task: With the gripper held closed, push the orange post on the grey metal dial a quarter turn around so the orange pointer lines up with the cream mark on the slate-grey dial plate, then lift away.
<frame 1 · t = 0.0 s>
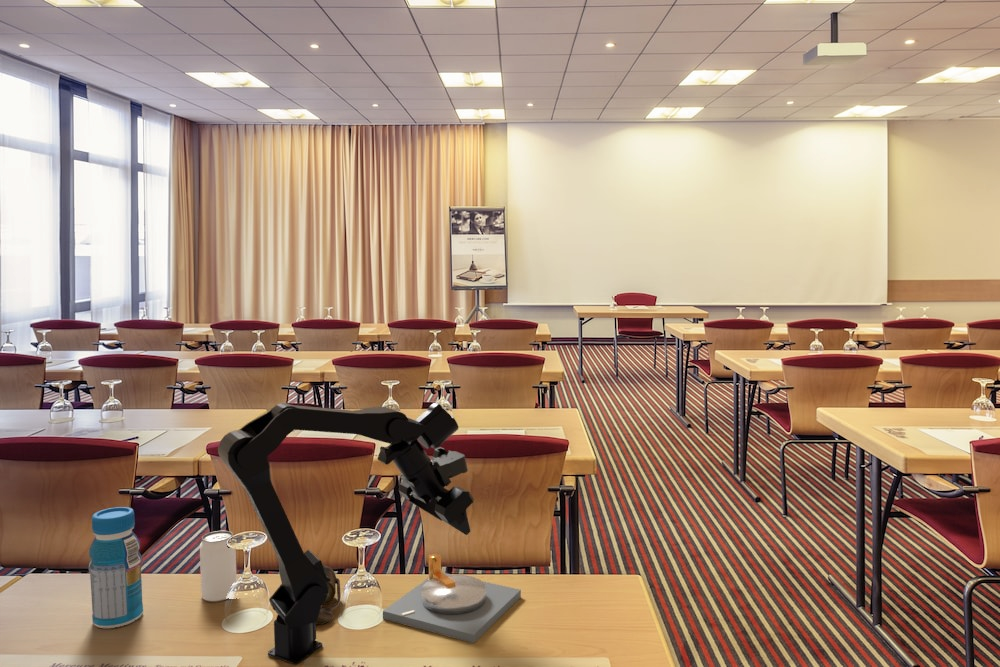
hand: (455, 525, 133), 15 cm above the table, fingers open, 9 cm apart
can: (219, 596, 137), on the table
dial plate: (453, 607, 131), on the table
beverage bottle: (118, 619, 128), on the table
dial: (450, 581, 132), point 5 cm above the table, hinge at 0.0°
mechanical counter: (316, 611, 131), on the table
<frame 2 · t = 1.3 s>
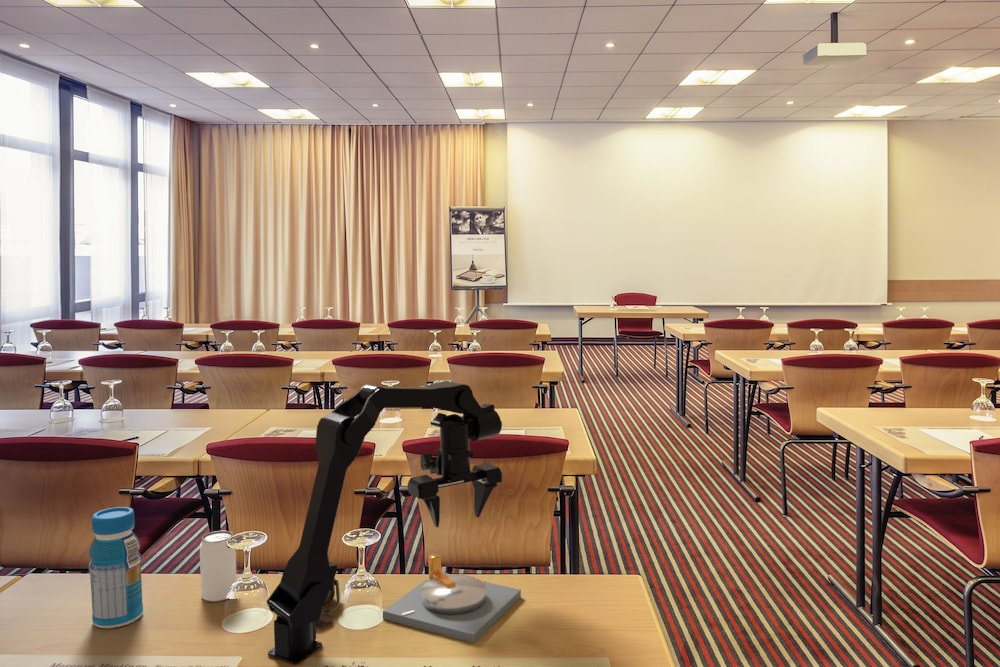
hand: (457, 521, 139), 13 cm above the table, fingers open, 9 cm apart
nothing on the table moved.
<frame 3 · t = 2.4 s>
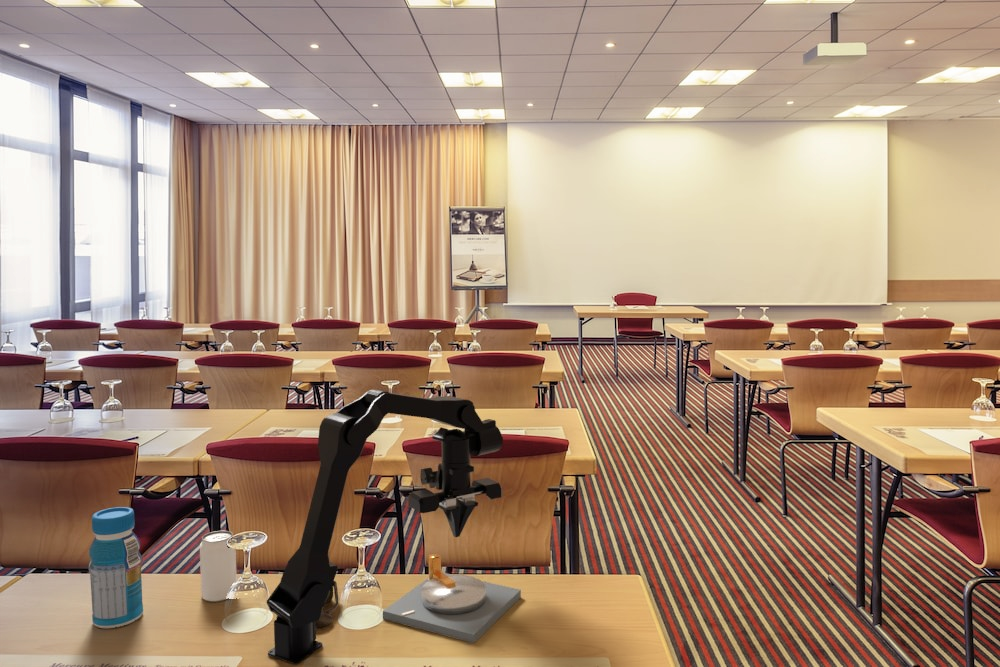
hand: (456, 536, 140), 10 cm above the table, fingers closed
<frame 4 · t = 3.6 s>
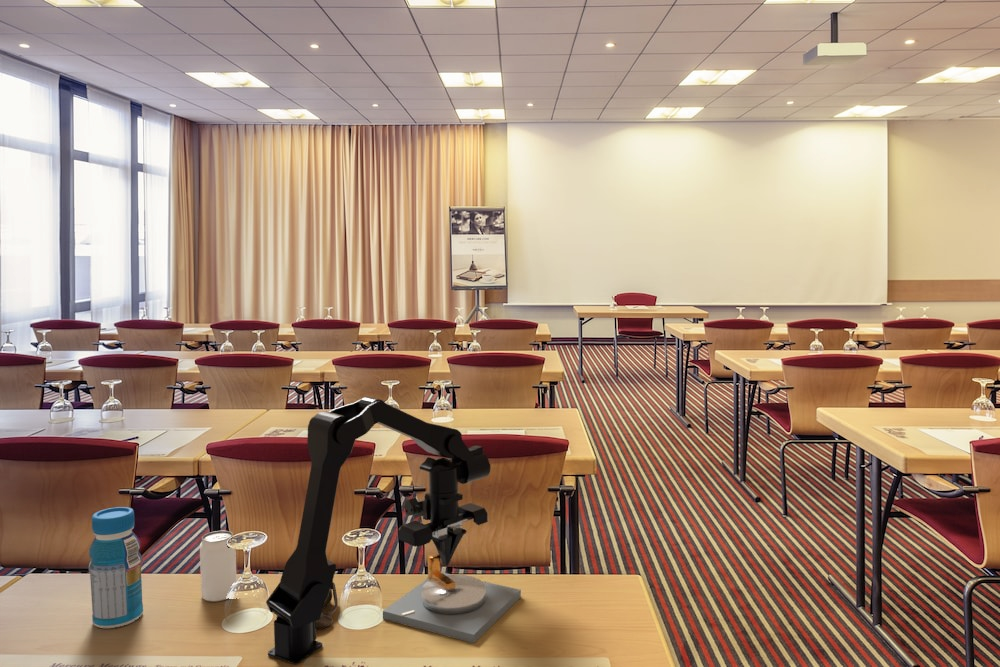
hand: (445, 565, 139), 5 cm above the table, fingers closed
dial: (450, 581, 132), point 5 cm above the table, hinge at 1.3°, touching gripper
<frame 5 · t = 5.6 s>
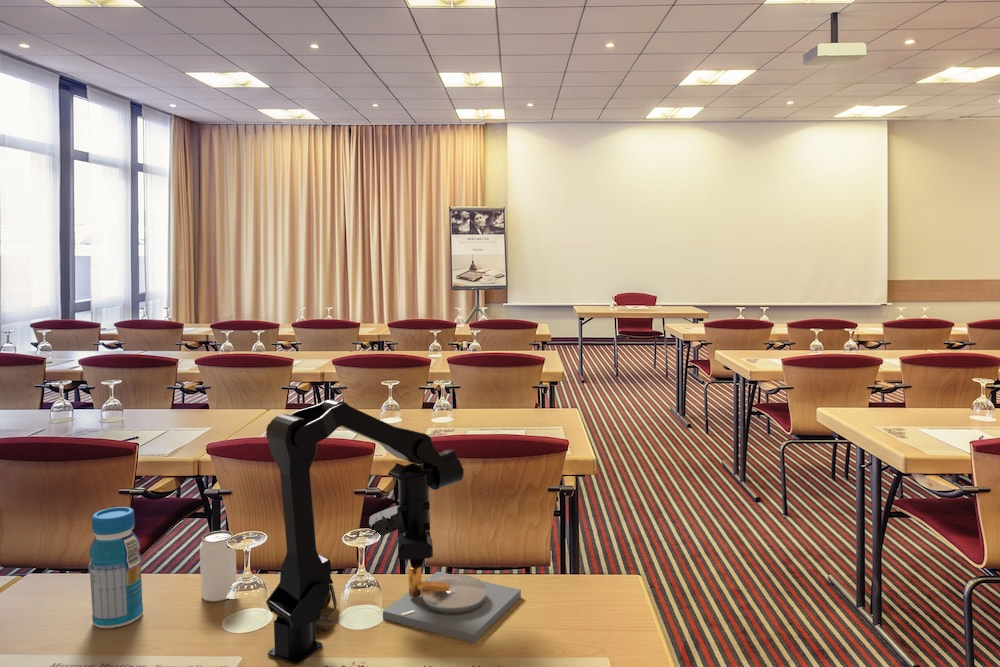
hand: (415, 573, 134), 5 cm above the table, fingers closed
dial: (446, 583, 131), point 5 cm above the table, hinge at 49.6°, touching gripper
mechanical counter: (311, 618, 128), on the table
everything else where it was.
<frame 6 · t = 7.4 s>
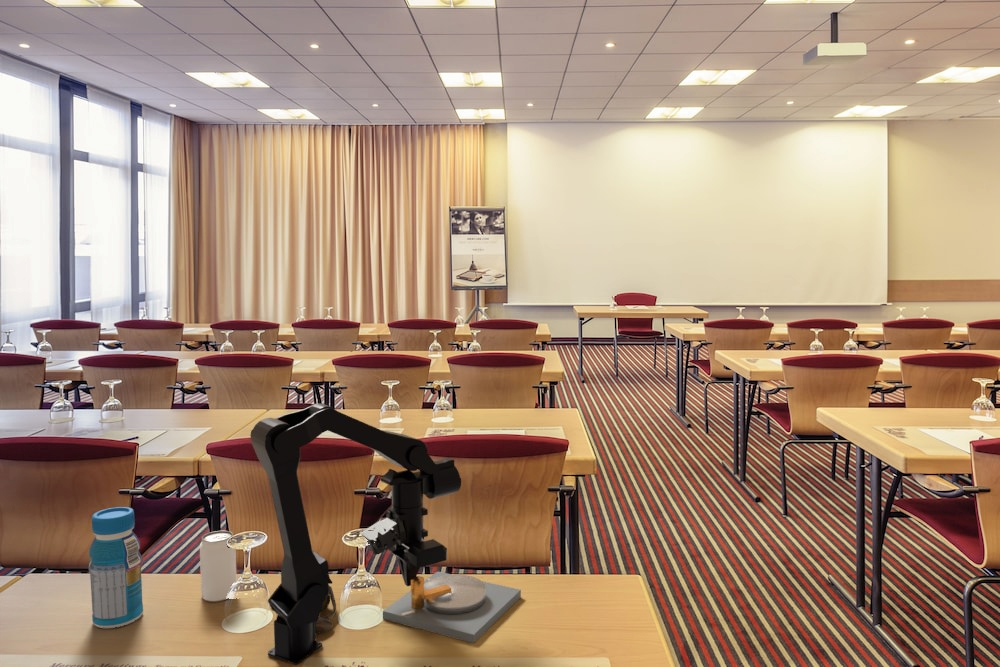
hand: (408, 585, 130), 5 cm above the table, fingers closed
dial: (447, 585, 130), point 5 cm above the table, hinge at 88.9°
everything else where it was.
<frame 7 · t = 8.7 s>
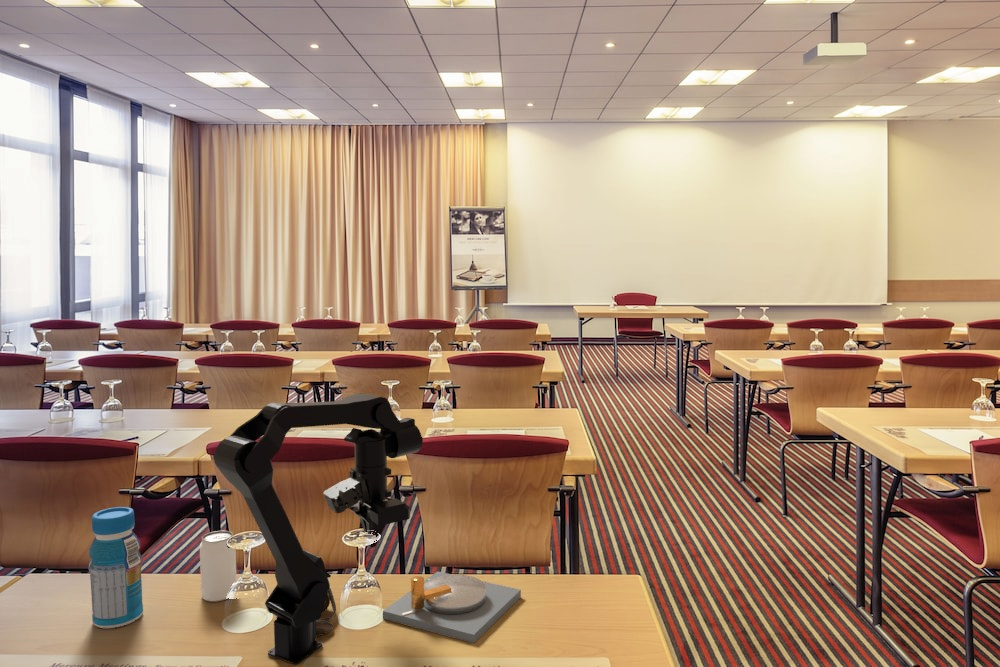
hand: (372, 546, 128), 13 cm above the table, fingers closed
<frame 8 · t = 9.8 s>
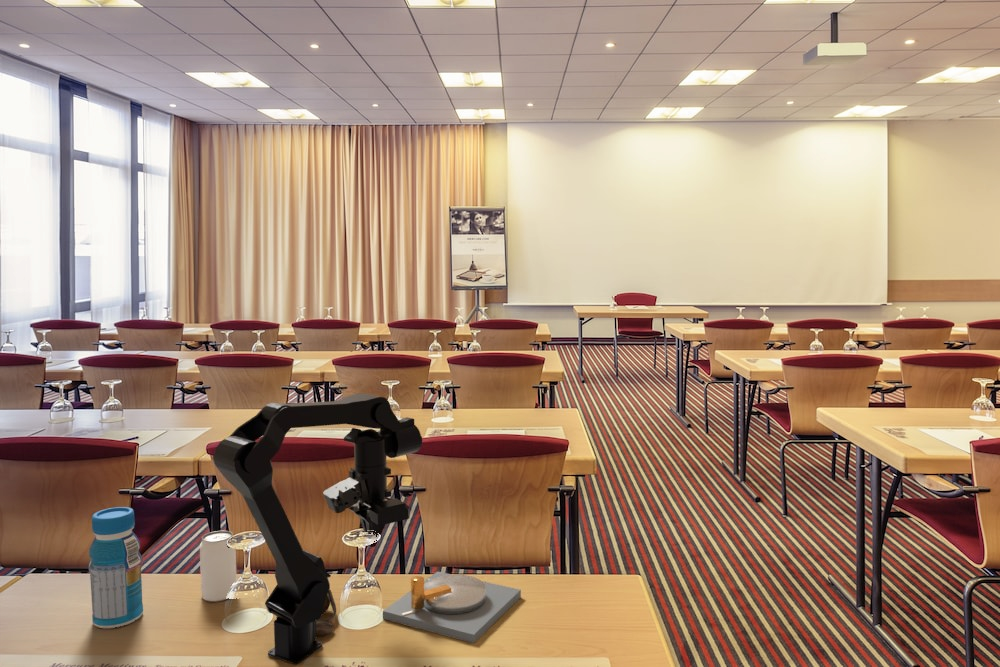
hand: (372, 546, 128), 13 cm above the table, fingers closed
at the end: dial at +89° (first picture: +0°) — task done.
